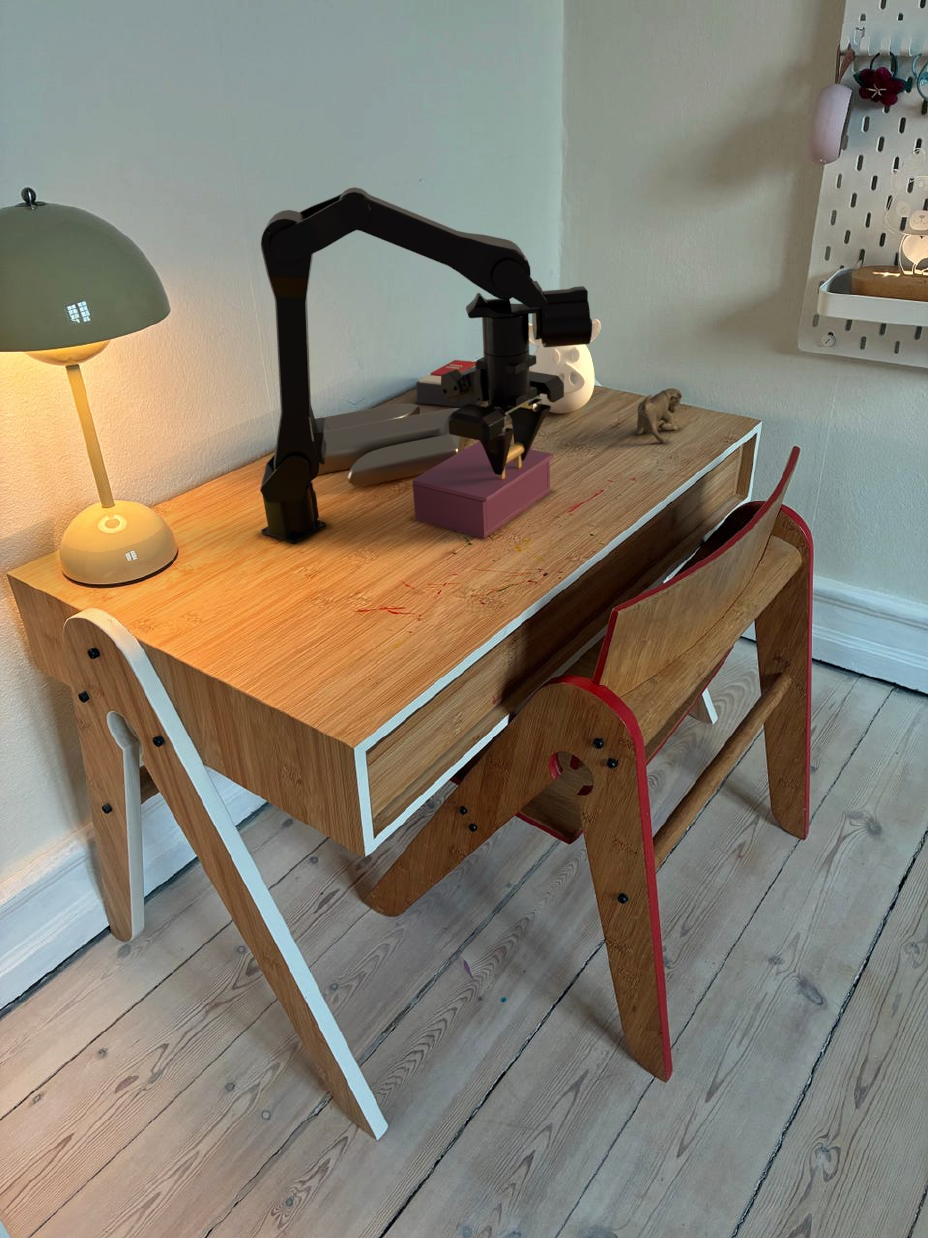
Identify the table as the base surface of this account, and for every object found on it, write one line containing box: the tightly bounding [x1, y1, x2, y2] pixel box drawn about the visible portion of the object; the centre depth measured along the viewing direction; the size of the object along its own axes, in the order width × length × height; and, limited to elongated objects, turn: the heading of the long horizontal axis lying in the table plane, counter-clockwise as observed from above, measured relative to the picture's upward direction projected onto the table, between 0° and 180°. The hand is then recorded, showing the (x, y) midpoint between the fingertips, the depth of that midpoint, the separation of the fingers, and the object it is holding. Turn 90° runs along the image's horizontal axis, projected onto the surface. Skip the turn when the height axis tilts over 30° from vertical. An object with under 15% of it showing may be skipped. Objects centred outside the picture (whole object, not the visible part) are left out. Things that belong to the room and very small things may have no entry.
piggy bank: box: [529, 318, 602, 414], centre depth 160 cm, size 12×12×15 cm
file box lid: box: [411, 440, 554, 502], centre depth 130 cm, size 12×16×4 cm
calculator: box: [415, 359, 482, 408], centre depth 173 cm, size 11×4×15 cm
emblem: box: [317, 403, 467, 488], centre depth 150 cm, size 28×5×28 cm
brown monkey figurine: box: [635, 387, 683, 444], centre depth 152 cm, size 12×6×7 cm, turn 145°
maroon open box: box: [412, 460, 551, 539], centre depth 133 cm, size 11×16×5 cm
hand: (509, 466), depth 128 cm, fingers closed on file box lid, 5 cm apart
